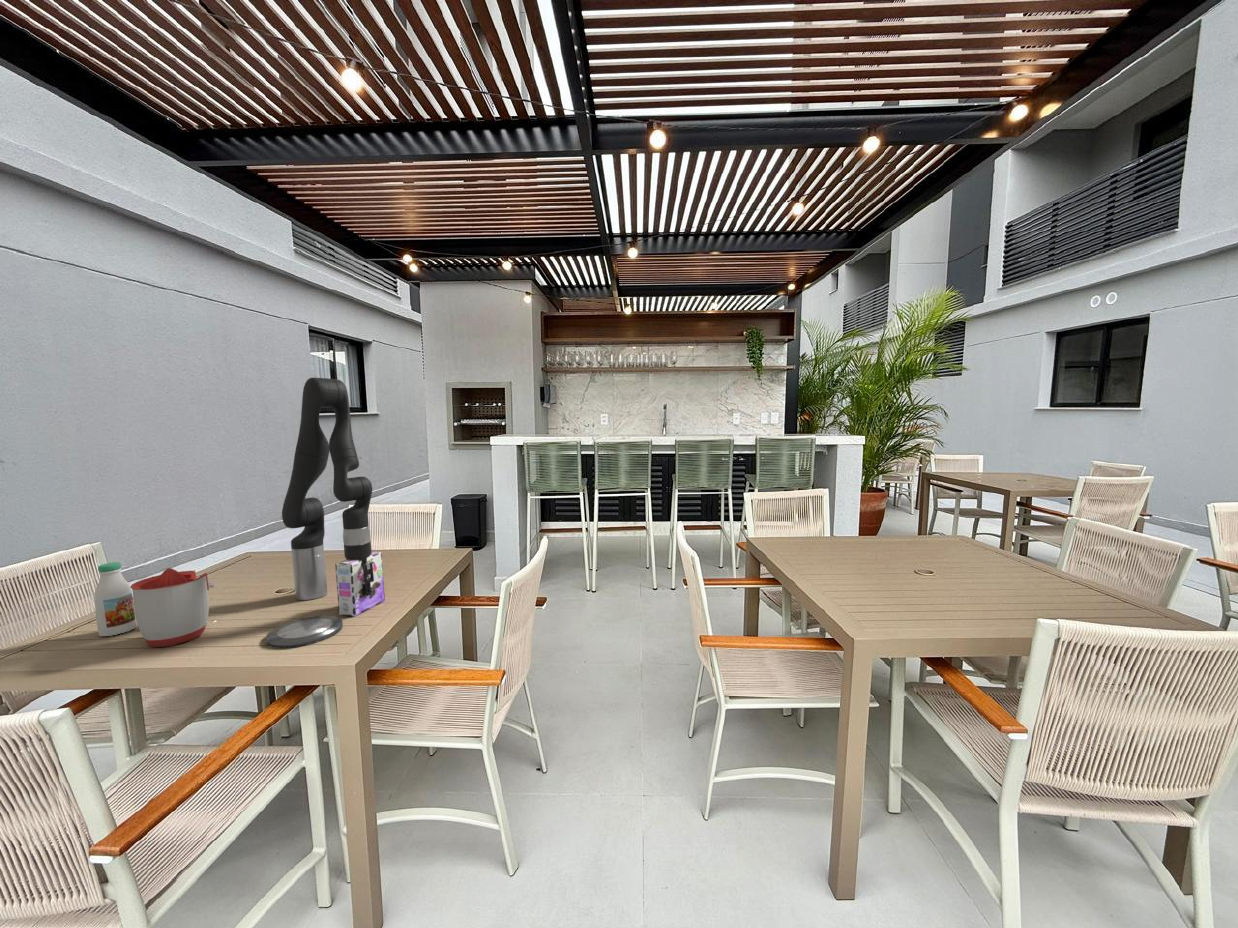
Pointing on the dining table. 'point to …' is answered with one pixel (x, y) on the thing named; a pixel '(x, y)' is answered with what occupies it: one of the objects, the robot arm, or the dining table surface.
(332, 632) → the metal plate
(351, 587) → the candy box
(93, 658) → the dining table surface
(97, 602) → the milk bottle
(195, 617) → the citrus juicer
